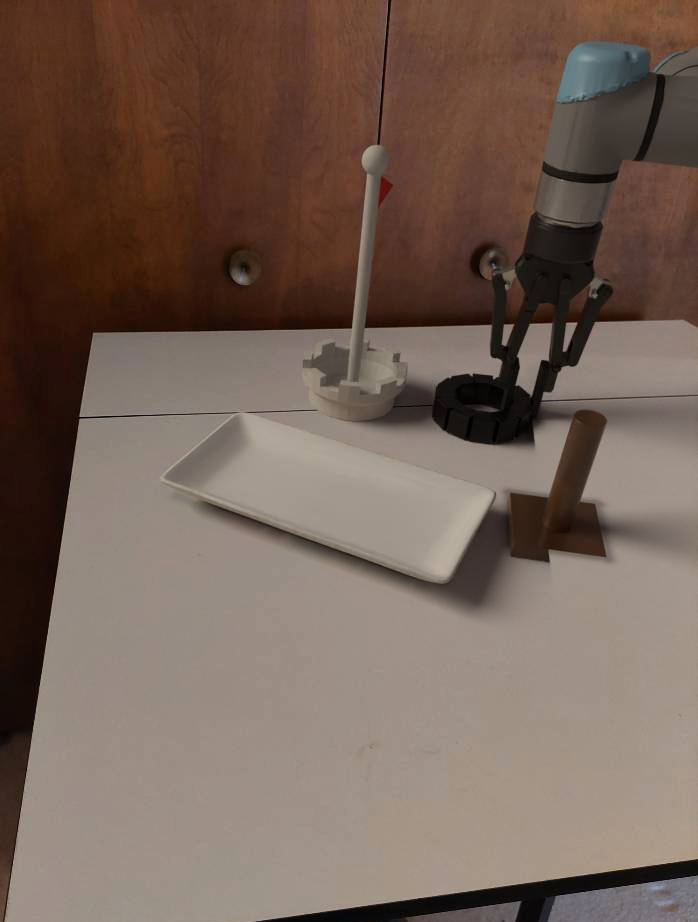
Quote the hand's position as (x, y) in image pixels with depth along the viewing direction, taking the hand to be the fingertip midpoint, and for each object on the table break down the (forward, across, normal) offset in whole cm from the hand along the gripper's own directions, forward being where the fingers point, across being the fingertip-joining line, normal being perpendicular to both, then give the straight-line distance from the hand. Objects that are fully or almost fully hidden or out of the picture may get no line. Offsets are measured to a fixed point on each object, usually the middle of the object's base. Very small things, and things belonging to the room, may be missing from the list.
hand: (518, 411), depth 99 cm
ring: (+2, +5, 0) cm, 5 cm away
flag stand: (+2, +21, -1) cm, 21 cm away
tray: (+2, +21, +23) cm, 31 cm away
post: (+2, -3, +22) cm, 22 cm away
